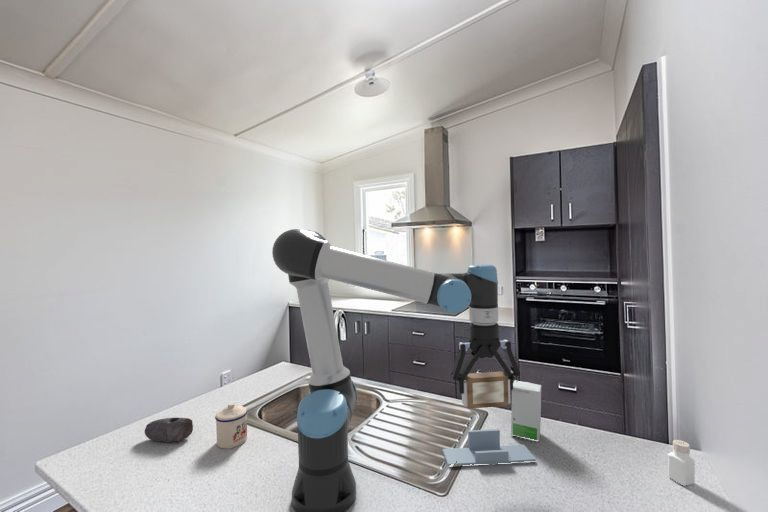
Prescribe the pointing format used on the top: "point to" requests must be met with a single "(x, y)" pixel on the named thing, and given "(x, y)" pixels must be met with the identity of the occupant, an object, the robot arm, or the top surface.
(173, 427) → the perforated stone tool
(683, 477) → the pepper shaker
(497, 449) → the picture ledge
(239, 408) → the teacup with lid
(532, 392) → the skincare box
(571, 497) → the top surface
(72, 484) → the top surface
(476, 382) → the walnut frame
